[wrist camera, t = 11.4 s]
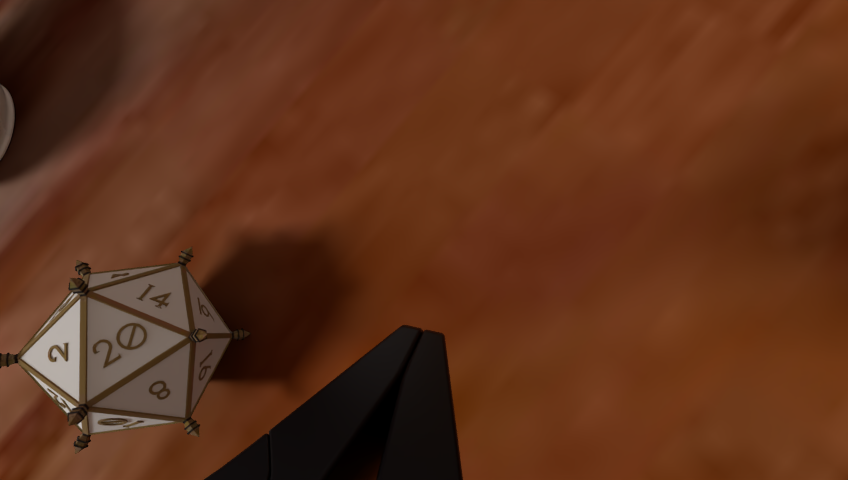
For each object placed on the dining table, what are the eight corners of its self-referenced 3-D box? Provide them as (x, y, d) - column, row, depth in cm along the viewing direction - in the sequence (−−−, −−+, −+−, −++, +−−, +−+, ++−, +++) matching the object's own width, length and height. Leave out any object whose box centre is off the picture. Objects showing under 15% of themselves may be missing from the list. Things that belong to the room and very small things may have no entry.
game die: (251, 302, 29) (182, 175, 21) (285, 429, 24) (208, 318, 16) (92, 361, 27) (-48, 242, 19) (89, 517, 21) (-105, 435, 14)
